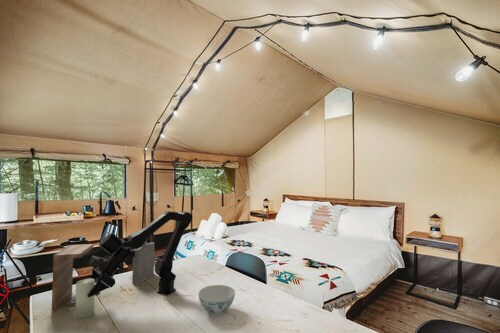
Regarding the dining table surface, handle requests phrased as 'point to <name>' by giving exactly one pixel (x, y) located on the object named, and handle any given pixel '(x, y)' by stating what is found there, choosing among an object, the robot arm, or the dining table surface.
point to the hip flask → (143, 263)
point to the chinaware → (216, 298)
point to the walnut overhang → (65, 273)
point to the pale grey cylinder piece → (84, 298)
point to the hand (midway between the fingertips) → (86, 292)
